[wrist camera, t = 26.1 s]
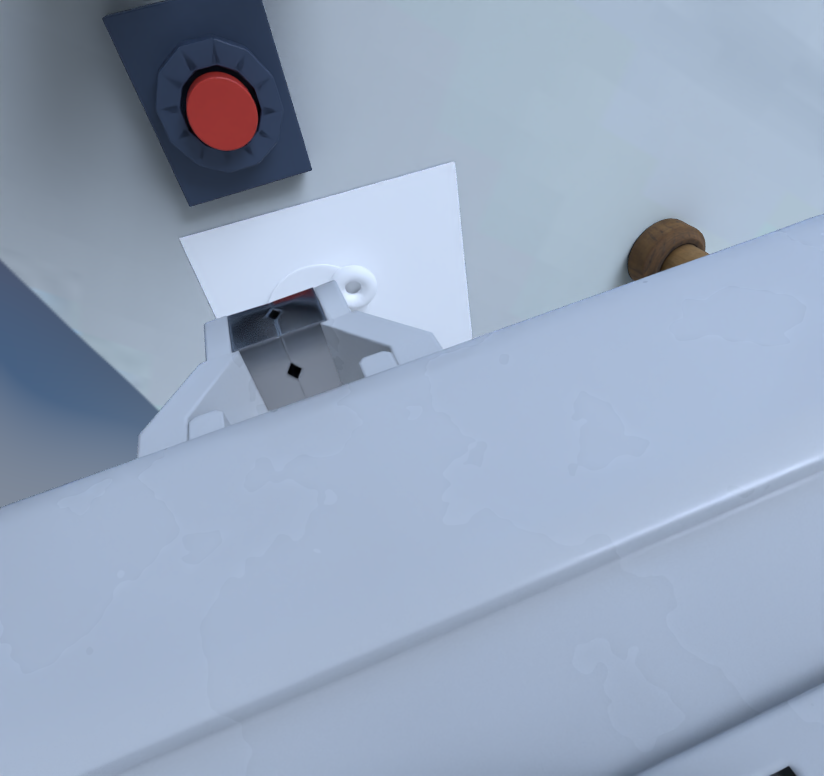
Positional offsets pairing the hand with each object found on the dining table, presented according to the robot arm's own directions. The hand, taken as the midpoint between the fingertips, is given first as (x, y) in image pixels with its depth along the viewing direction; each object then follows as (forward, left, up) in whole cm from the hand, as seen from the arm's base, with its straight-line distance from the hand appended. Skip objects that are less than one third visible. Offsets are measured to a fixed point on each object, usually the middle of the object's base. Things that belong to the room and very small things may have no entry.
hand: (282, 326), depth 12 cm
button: (0, 0, -24) cm, 24 cm away
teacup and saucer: (+17, +4, -27) cm, 33 cm away
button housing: (0, 0, -27) cm, 27 cm away
